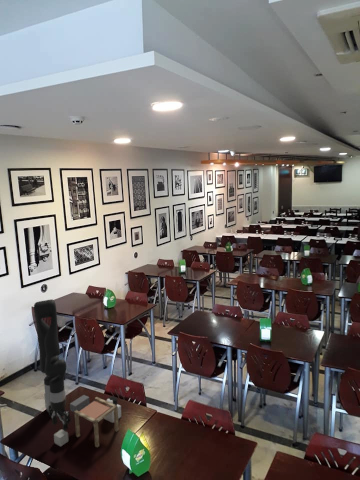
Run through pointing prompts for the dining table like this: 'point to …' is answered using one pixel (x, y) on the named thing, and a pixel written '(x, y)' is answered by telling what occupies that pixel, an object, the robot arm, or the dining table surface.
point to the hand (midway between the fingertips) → (60, 426)
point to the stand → (95, 421)
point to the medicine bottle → (111, 416)
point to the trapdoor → (88, 407)
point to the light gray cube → (61, 437)
